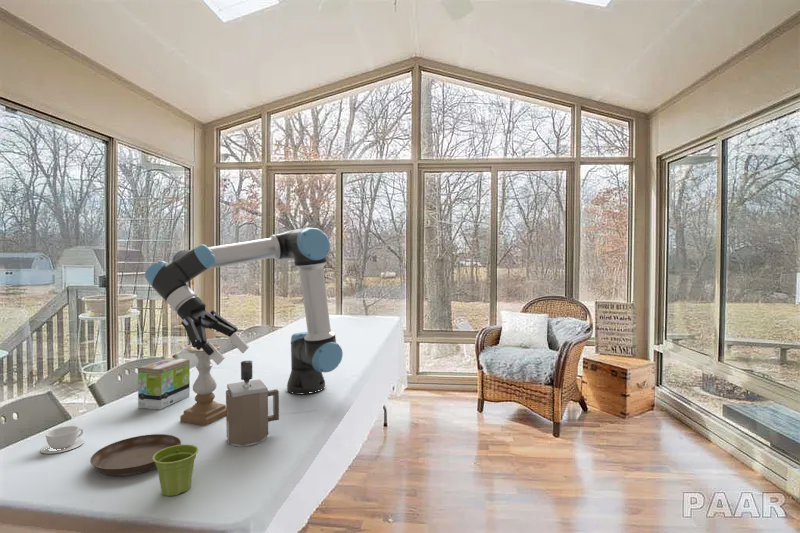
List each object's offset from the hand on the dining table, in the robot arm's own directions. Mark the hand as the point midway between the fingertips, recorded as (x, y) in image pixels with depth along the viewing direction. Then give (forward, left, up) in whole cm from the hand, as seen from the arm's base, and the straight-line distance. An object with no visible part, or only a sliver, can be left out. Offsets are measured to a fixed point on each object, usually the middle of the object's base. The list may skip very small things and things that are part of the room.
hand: (234, 355), depth 128 cm
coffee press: (-5, +2, -25) cm, 25 cm away
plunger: (-3, +2, -24) cm, 24 cm away
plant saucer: (+25, +1, -25) cm, 36 cm away
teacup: (+44, -20, -25) cm, 54 cm away
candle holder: (+6, -22, -25) cm, 34 cm away
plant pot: (+17, +22, -25) cm, 37 cm away
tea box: (+17, -46, -25) cm, 55 cm away
